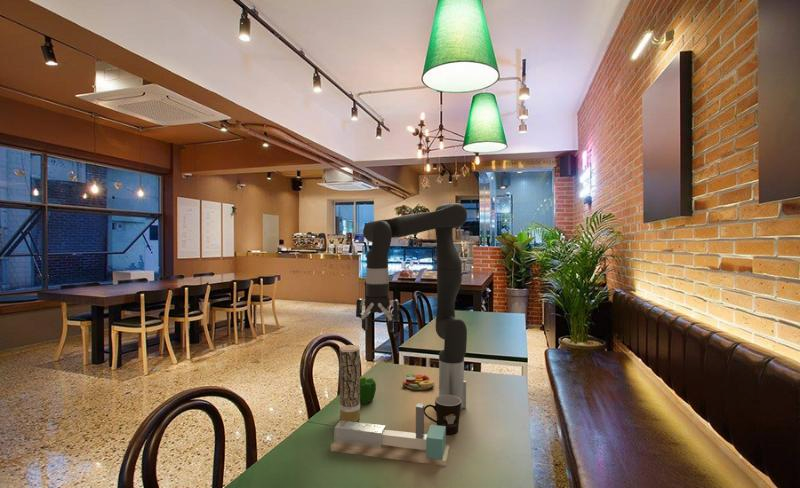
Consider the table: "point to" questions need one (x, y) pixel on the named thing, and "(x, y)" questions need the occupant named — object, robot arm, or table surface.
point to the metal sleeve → (359, 434)
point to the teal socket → (436, 442)
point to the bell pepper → (367, 389)
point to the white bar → (408, 434)
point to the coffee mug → (447, 412)
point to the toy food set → (418, 382)
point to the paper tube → (350, 383)
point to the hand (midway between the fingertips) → (377, 330)
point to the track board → (392, 453)
